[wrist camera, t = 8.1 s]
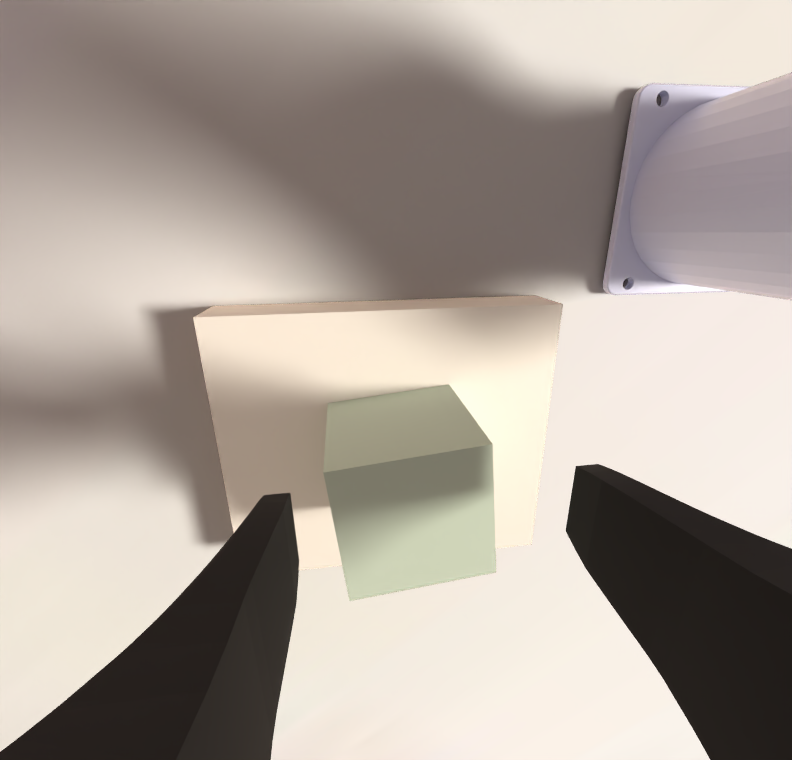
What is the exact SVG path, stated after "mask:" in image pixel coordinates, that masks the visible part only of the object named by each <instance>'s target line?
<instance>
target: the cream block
mask: <svg viewBox="0 0 792 760" xmlns="http://www.w3.org/2000/svg"><path fill="white" fill-rule="evenodd" d="M562 307H563V304H561V303H558V302H555V301H552V300H548V299H545V298H542V297H539V296H536V295H531V296H501V297H470V298H440V299H410V300H380V301H349V302H319V303H289V304H259V305H229V306H212V307H210V308H209V309H207V310H205V311H203V312H202V313H200V314H198V315H196V316H195V317H193V320H194V325H195V330H196V336H197V341H198V346H199V352H200V357H201V362H202V368H203V373H204V378H205V384H206V389H207V394H208V400H209V405H210V410H211V416H212V421H213V426H214V432H215V437H216V442H217V448H218V453H219V458H220V464H221V469H222V474H223V480H224V485H225V490H226V496H227V501H228V506H229V512H230V517H231V522H232V528H233V533H234V532H235V531H236V530H237V528H238V527H239V526H240V525H241V523H242V522H243V521H244V519H245V518H246V517H247V516H248V514H249V513H250V512H251V510H252V509H253V508H254V506H255V505H256V504H257V502H258V501H259V500H260V499H261V498H262V497H263V496H264V495H270V494H280V493H290V494H291V502H292V509H293V517H294V524H295V532H296V539H297V547H298V555H299V570H307V569H316V568H325V567H334V566H342V562H341V557H340V552H339V547H338V542H337V537H336V532H335V527H334V522H333V518H332V513H331V508H330V503H329V498H328V493H327V488H326V483H325V478H324V474H323V469H324V454H325V438H326V423H327V408H328V403H332V402H339V401H345V400H352V399H358V398H365V397H371V396H378V395H384V394H391V393H397V392H404V391H410V390H417V389H424V388H430V387H437V386H443V385H450V386H451V387H452V389H453V390H454V392H455V393H456V394H457V396H458V397H459V398H460V400H461V401H462V403H463V404H464V405H465V407H466V408H467V409H468V411H469V412H470V414H471V415H472V416H473V418H474V419H475V420H476V422H477V423H478V425H479V426H480V427H481V429H482V430H483V431H484V433H485V434H486V436H487V437H488V438H489V440H490V441H491V442H492V444H493V476H494V513H495V549H496V548H505V547H515V546H524V545H532V538H533V530H534V522H535V515H536V507H537V499H538V491H539V484H540V476H541V468H542V461H543V453H544V445H545V438H546V430H547V422H548V415H549V407H550V399H551V392H552V384H553V376H554V368H555V361H556V353H557V345H558V338H559V330H560V322H561V315H562Z"/></svg>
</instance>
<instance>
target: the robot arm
mask: <svg viewBox="0 0 792 760" xmlns="http://www.w3.org/2000/svg"><path fill="white" fill-rule="evenodd" d="M658 94H659V95H660V97H661V104H660V106H658V104H657V103H656V98H657V95H658ZM626 278H627V279H628V284H627V286H626V287H623V282H624V280H625V279H626ZM603 289H604V291H605V292H606V293H608V294H612V295H633V294H664V293H696V292H727V291H733V292H740V293H746V294H753V295H760V296H767V297H773V298H780V299H787V300H792V72H791V73H789V74H786V75H783V76H780V77H777V78H774V79H772V80H769V81H766V82H763V83H760V84H758V85H755V86H752V87H742V86H715V85H688V84H661V83H651V84H647V85H645V86H643V87H642V88H640V89H639V90H638V91H637V92H636V94H635V95H634V98H633V102H632V108H631V114H630V121H629V127H628V133H627V139H626V145H625V151H624V157H623V163H622V169H621V175H620V181H619V188H618V194H617V200H616V206H615V212H614V218H613V224H612V230H611V236H610V242H609V248H608V255H607V261H606V267H605V273H604V279H603ZM566 532H567V534H568V536H569V538H570V540H571V542H572V544H573V546H574V548H575V550H576V552H577V553H578V555H579V557H580V559H581V561H582V562H583V564H584V566H585V568H586V569H587V571H588V572H589V574H590V575H591V576H592V578H593V579H594V581H595V582H596V584H597V585H598V586H599V588H600V589H601V591H602V592H603V594H604V595H605V596H606V598H607V599H608V601H609V602H610V603H611V605H612V606H613V608H614V609H615V610H616V612H617V613H618V615H619V616H620V617H621V619H622V620H623V622H624V623H625V624H626V626H627V627H628V629H629V630H630V631H631V633H632V634H633V636H634V637H635V638H636V640H637V641H638V643H639V644H640V645H641V647H642V648H643V650H644V651H645V652H646V654H647V655H648V657H649V658H650V660H651V661H652V663H653V664H654V666H655V667H656V669H657V670H658V672H659V673H660V675H661V676H662V678H663V679H664V681H665V683H666V684H667V686H668V688H669V689H670V691H671V693H672V694H673V696H674V698H675V699H676V701H677V703H678V704H679V706H680V708H681V709H682V711H683V713H684V714H685V716H686V718H687V719H688V721H689V723H690V724H691V726H692V728H693V730H694V731H695V733H696V735H697V737H698V738H699V740H700V742H701V744H702V746H703V747H704V749H705V751H706V753H707V754H708V756H709V758H710V760H792V549H791V548H788V547H785V546H783V545H780V544H777V543H775V542H772V541H770V540H767V539H765V538H762V537H760V536H757V535H755V534H752V533H750V532H748V531H745V530H743V529H741V528H738V527H736V526H734V525H732V524H729V523H727V522H725V521H722V520H720V519H718V518H715V517H713V516H711V515H709V514H706V513H704V512H702V511H700V510H698V509H695V508H693V507H691V506H689V505H687V504H685V503H683V502H680V501H678V500H676V499H674V498H672V497H670V496H668V495H666V494H664V493H661V492H659V491H657V490H655V489H653V488H651V487H649V486H647V485H645V484H643V483H640V482H638V481H636V480H634V479H632V478H630V477H628V476H625V475H623V474H621V473H619V472H617V471H614V470H612V469H609V468H607V467H604V466H602V465H599V464H595V465H584V466H576V469H575V475H574V482H573V488H572V494H571V501H570V507H569V513H568V520H567V526H566ZM298 572H299V555H298V547H297V539H296V532H295V524H294V517H293V509H292V502H291V494H290V493H280V494H270V495H264V496H263V497H262V498H261V499H260V500H259V501H258V502H257V504H256V505H255V506H254V508H253V509H252V510H251V512H250V513H249V514H248V516H247V517H246V518H245V519H244V521H243V522H242V523H241V525H240V526H239V527H238V528H237V530H236V531H235V532H234V534H233V535H232V536H231V537H230V539H229V540H228V541H227V542H226V543H225V545H224V546H223V547H222V548H221V549H220V551H219V552H218V553H217V554H216V555H215V557H214V558H213V559H212V560H211V561H210V563H209V564H208V565H207V566H206V567H205V568H204V570H203V571H202V572H201V573H200V574H199V575H198V576H197V577H196V578H195V579H194V580H193V582H192V583H191V584H190V585H189V586H188V587H187V588H186V589H185V590H184V591H183V593H182V594H181V595H180V596H179V597H178V598H177V599H176V600H175V601H174V602H173V603H172V604H171V605H170V606H169V607H168V608H167V609H166V610H165V611H164V612H163V614H162V615H161V616H160V617H159V618H158V619H157V620H156V621H154V622H153V623H152V624H151V625H150V626H149V627H148V628H147V629H146V630H145V631H144V632H143V633H142V634H141V635H140V636H139V637H138V638H137V639H136V640H135V641H134V642H133V643H132V644H130V645H129V646H128V647H127V648H126V649H125V650H124V651H123V652H122V653H121V654H119V655H118V656H117V657H116V658H115V659H114V660H112V661H111V662H110V663H109V664H108V665H107V666H105V667H104V668H103V669H102V670H101V671H100V672H98V673H97V674H96V675H95V676H94V677H92V678H91V679H90V680H89V681H88V682H87V683H85V684H84V685H83V686H82V687H81V688H80V689H78V690H77V691H76V692H75V693H74V694H73V695H71V696H70V697H69V698H68V699H67V700H66V701H64V702H63V703H62V704H61V705H60V706H58V707H57V708H56V709H55V710H53V711H52V712H51V713H50V714H48V715H47V716H46V717H45V718H43V719H42V720H41V721H39V722H38V723H37V724H36V725H34V726H33V727H32V728H31V729H29V730H28V731H27V732H26V733H24V734H23V735H22V736H20V737H19V738H18V739H17V740H15V741H14V742H13V743H11V744H10V745H9V746H7V747H6V748H5V749H3V750H2V751H1V752H0V760H270V759H271V749H272V740H273V733H274V726H275V720H276V713H277V707H278V702H279V696H280V691H281V685H282V680H283V674H284V669H285V663H286V658H287V652H288V647H289V642H290V636H291V630H292V625H293V619H294V613H295V608H296V600H297V587H298Z"/></svg>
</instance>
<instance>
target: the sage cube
mask: <svg viewBox="0 0 792 760" xmlns="http://www.w3.org/2000/svg"><path fill="white" fill-rule="evenodd" d="M323 474H324V478H325V483H326V488H327V493H328V498H329V503H330V508H331V513H332V518H333V522H334V527H335V532H336V537H337V542H338V547H339V552H340V557H341V562H342V566H343V571H344V576H345V581H346V586H347V591H348V596H349V601H353V600H358V599H363V598H368V597H373V596H378V595H383V594H388V593H393V592H399V591H404V590H409V589H414V588H419V587H424V586H429V585H434V584H439V583H444V582H449V581H455V580H460V579H465V578H470V577H475V576H480V575H485V574H490V573H495V572H496V551H495V513H494V476H493V444H492V442H491V441H490V440H489V438H488V437H487V436H486V434H485V433H484V431H483V430H482V429H481V427H480V426H479V425H478V423H477V422H476V420H475V419H474V418H473V416H472V415H471V414H470V412H469V411H468V409H467V408H466V407H465V405H464V404H463V403H462V401H461V400H460V398H459V397H458V396H457V394H456V393H455V392H454V390H453V389H452V387H451V386H450V385H443V386H437V387H430V388H424V389H417V390H410V391H404V392H397V393H391V394H384V395H378V396H371V397H365V398H358V399H352V400H345V401H339V402H332V403H328V408H327V423H326V438H325V454H324V469H323Z"/></svg>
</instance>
